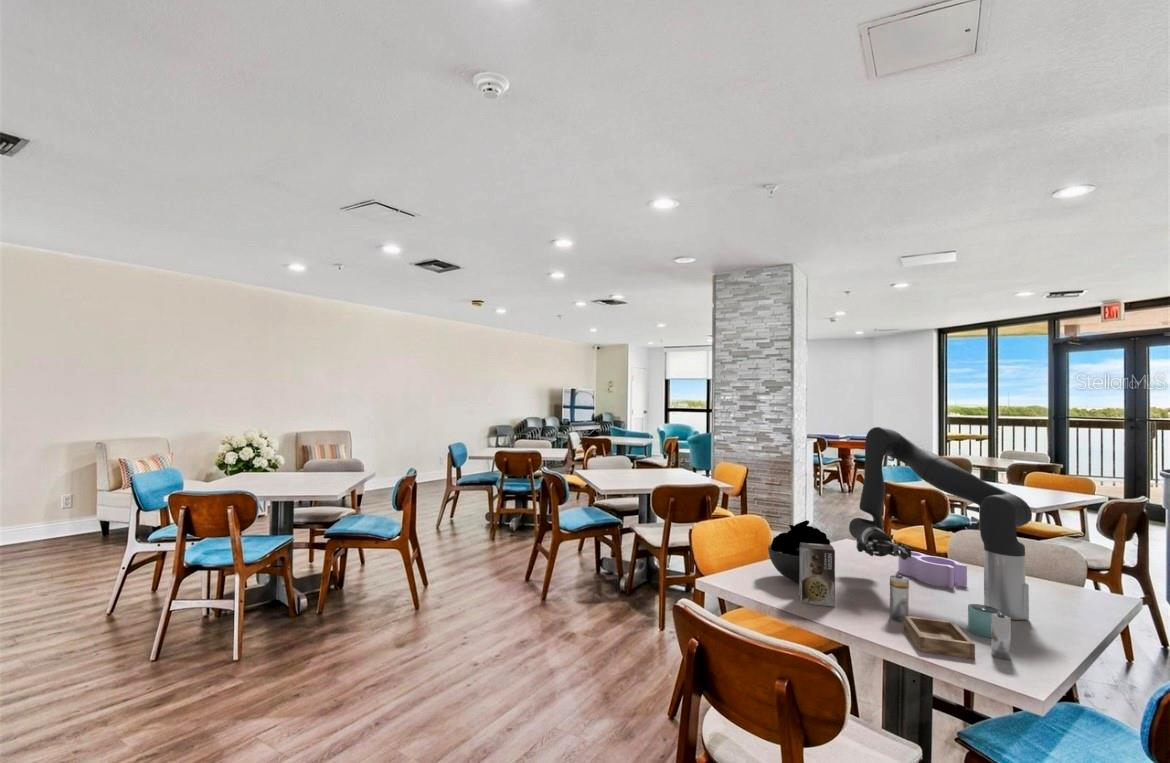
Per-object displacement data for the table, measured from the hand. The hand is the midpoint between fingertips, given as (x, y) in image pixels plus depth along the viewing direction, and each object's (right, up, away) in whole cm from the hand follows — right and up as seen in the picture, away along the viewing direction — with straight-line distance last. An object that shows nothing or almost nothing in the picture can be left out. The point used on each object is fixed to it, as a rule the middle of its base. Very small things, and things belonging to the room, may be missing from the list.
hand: (888, 554), depth 159 cm
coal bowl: (-18, -15, +19) cm, 30 cm away
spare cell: (+8, -13, -33) cm, 36 cm away
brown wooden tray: (-3, -13, -26) cm, 30 cm away
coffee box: (-21, -14, 0) cm, 25 cm away
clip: (+29, -17, +27) cm, 43 cm away
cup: (+14, -14, -19) cm, 28 cm away
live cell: (-4, -14, -12) cm, 18 cm away
